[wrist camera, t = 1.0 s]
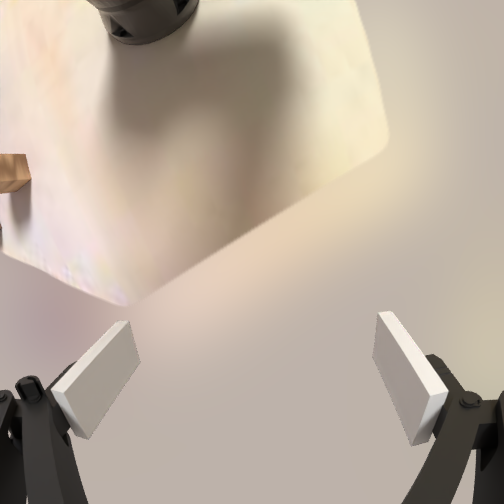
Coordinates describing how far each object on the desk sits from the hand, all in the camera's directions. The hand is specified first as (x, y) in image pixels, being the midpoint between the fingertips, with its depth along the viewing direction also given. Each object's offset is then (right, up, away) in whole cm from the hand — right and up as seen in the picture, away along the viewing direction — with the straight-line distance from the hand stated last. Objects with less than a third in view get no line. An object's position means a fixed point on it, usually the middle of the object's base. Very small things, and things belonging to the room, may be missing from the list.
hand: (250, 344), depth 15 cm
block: (-41, +19, +25) cm, 52 cm away
